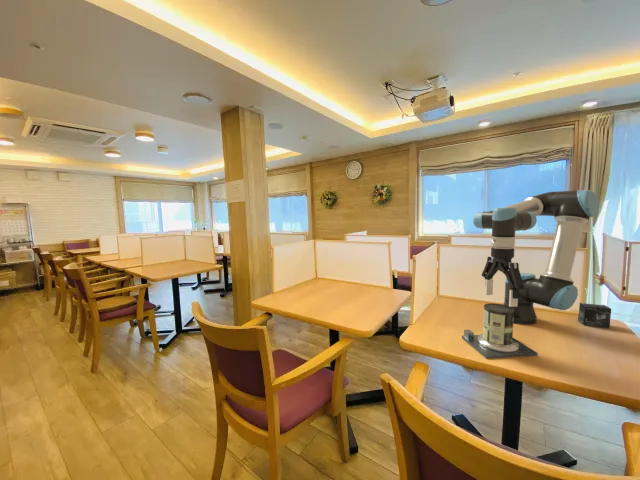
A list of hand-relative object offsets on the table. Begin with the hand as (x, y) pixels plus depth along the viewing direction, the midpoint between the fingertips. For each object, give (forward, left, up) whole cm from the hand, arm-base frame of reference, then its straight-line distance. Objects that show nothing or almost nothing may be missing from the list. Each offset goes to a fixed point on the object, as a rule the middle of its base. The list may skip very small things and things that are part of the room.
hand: (500, 300), depth 107 cm
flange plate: (0, 0, -19) cm, 19 cm away
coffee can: (0, 0, -17) cm, 17 cm away
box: (-58, -15, -20) cm, 63 cm away
